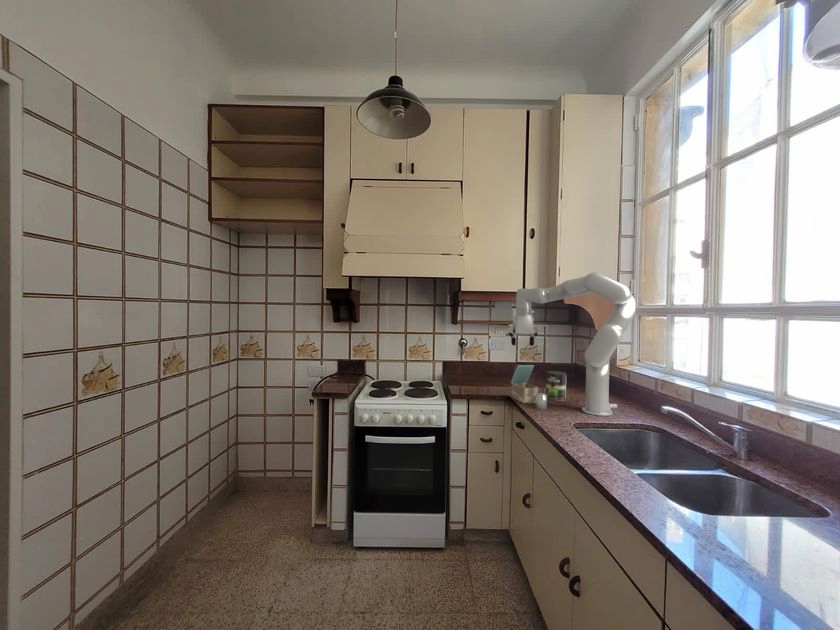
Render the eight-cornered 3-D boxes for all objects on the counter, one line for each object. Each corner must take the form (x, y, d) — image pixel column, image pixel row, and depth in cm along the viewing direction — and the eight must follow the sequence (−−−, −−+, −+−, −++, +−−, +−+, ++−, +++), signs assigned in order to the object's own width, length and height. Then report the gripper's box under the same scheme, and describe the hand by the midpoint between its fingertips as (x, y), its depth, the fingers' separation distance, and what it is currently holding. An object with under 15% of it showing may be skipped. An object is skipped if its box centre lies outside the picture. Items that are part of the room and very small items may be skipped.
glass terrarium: (562, 401, 179) (562, 374, 179) (542, 398, 186) (543, 372, 186) (569, 398, 187) (569, 372, 187) (550, 395, 194) (550, 370, 194)
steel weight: (543, 406, 168) (543, 392, 168) (549, 409, 163) (549, 395, 163) (533, 407, 167) (534, 393, 167) (539, 410, 162) (539, 395, 162)
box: (526, 397, 187) (526, 383, 187) (538, 403, 175) (539, 387, 175) (511, 398, 185) (511, 383, 185) (523, 404, 173) (523, 388, 173)
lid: (526, 382, 187) (526, 381, 188) (534, 366, 180) (533, 365, 181) (511, 383, 185) (510, 382, 185) (518, 366, 178) (517, 365, 179)
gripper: (536, 312, 182) (535, 344, 182) (504, 312, 180) (503, 344, 180) (542, 313, 175) (541, 346, 175) (510, 312, 173) (509, 345, 173)
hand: (522, 345), depth 178 cm, fingers open, 9 cm apart
